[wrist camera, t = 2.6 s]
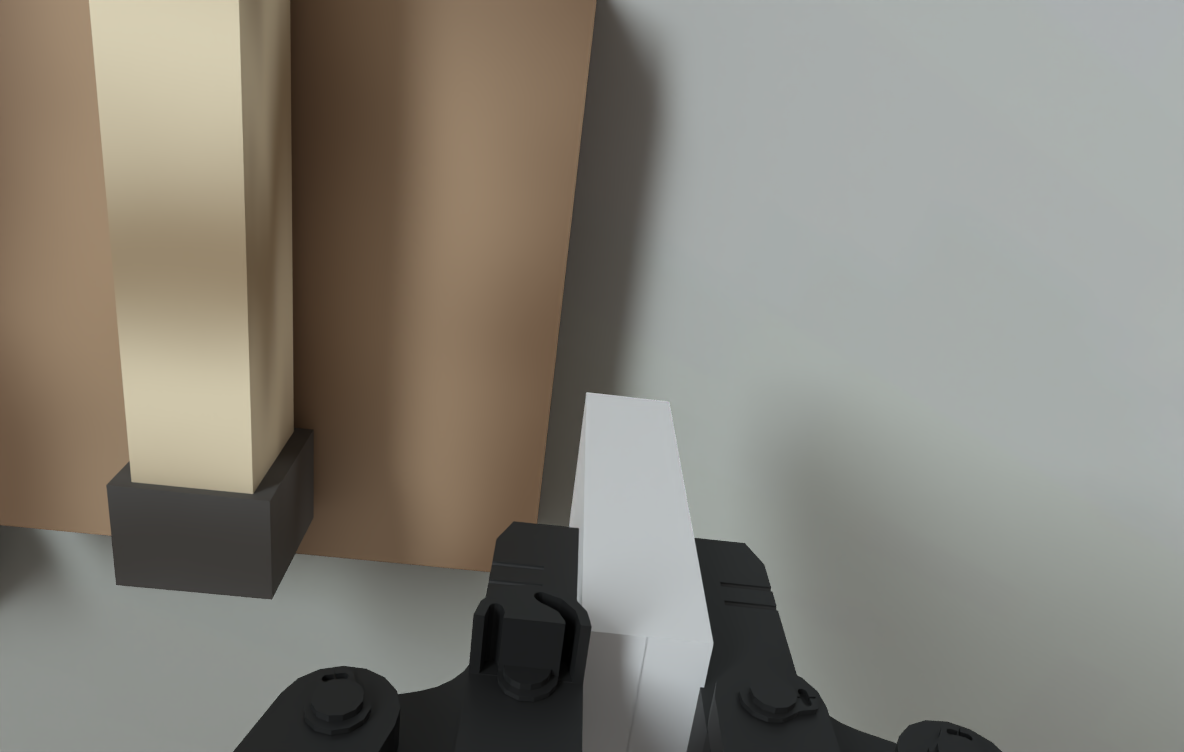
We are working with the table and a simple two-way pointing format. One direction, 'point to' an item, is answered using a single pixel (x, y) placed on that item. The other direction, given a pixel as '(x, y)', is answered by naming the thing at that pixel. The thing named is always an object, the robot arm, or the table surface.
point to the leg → (202, 292)
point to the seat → (325, 267)
